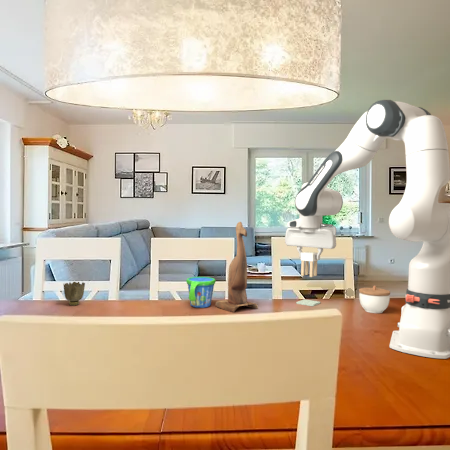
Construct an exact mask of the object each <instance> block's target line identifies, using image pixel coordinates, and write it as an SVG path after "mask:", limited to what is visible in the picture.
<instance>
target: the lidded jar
mask: <svg viewBox="0 0 450 450" xmlns="http://www.w3.org/2000/svg"><path fill="white" fill-rule="evenodd" d="M358 292H359V294H358V295H359V296H358V299H359V303H360V306H361V307H362V308H363V309H364V311H365V312H367V313H370V314H383V312H384V311H385V310H386V309H387V308H388V307H389V304H390V299H391V298H390V297H391V290H388V289H385V288H381V287H377V285H373V286H372V287H361V288H359V289H358Z"/></svg>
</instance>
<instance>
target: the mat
mask: <svg viewBox="0 0 450 450" xmlns="http://www.w3.org/2000/svg"><path fill="white" fill-rule="evenodd" d="M295 304H296V305H301V306H302V305H303V306H309V307H315V306H318V305H320V304H321V301H318V300H310V299H304V298H303V299H301V300H299V301H296V303H295Z"/></svg>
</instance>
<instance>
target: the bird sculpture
mask: <svg viewBox="0 0 450 450" xmlns="http://www.w3.org/2000/svg"><path fill="white" fill-rule="evenodd" d="M235 234H236V255H235V256H234V258H233V259H232V260H231V262H230V264H229V266H228V278H227V299H223V300H222V299H220V300H217V301H215V307H217V308H218V309H222V310H225V311H227V312H232V313H233V314H234V313H235V312H236V310H237V309H239V307H242V306H244V307H245V306H246V307H249V308H254V309H258V308H259V307H258V306H259V305H258V304H257V303H254V302H250V301H248V295H247V287H248V285H247V284H248V260H247V251H246V247H245V246H246V245H245V242H244V241H245V240H244V237H246V238H247V237H248V231H247V229H246V228H245V227H244V225H243V223H242V221H238V222H237V223H236V225H235ZM243 236H244V237H243Z"/></svg>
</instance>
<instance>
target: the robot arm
mask: <svg viewBox="0 0 450 450" xmlns="http://www.w3.org/2000/svg"><path fill="white" fill-rule="evenodd" d="M447 138H448V137H447V133H446V130H445V126H444V123H443V122H442V120H441V118H439V117H438V116H436V115H432V114H431V112H430V111H428V110H426V109H425V108H423V107H421V106H417V105H413V104H410V103H407V102H404V101H396V100H391V99H381V100H377V101H375V102H374V103H372V104H371V105H370V107H369V108H368V110H366V111H365V112H363V113H362V115H361V116H360V117H359V118H358V120H357V121H356V122H355V124H354V125H353V127H352V128H351V130H350V132H349V133H348V135H347V137H346V138H345V139H344V140H343V142H341V144H340V145H339V146H338V148H336V149H335V150H334V151H332V152H331V153H330V154H329V155H328V156H327V157H326V158H325V159H324V161H323V162H322V163H321V164H320V166H319V167H318V168H317V170H316V171H315V172H314V173H313V175H312V176H311V178H310V179H309V181H306V182H304V183H303V184H302V185H301V186H300V187H301V188H300V190H298V192H297V194H296V195H295V199H294V206H295V209H296V211H297V212H298V213H299V214H298V215H299V216H298V217H299V218H295V219H293V220H290V221H288V222H287V228H286V231H285V236H284V243H285V245H286V246H287V247H288V246H289V247H296V250H297V252H298V254H299V256H298V257H299V259H301V253H302V252H303V251H302V250H303V248H312V249H313V248H314V249H317V253H318V254H317V255H315V260H318V261H319V260H320V259H321V255H322V253H323V252H324V249H326V250H327V249H328V250H334V249H335V248H336V247H337V228H336V226H335V225H333V224H330V223H329V224H328V223H323V217H324V216H336V215H338V214H339V213H340V212H341V210H342V208H343V204H344V201H343V196H342V194H341V193H340V191H338V190H335V189H332V188H330V187H328V185H329V184H330V183H331V181H332V180H333V179H334V178H336V177H337V176H338V175H340V174H342V173H345V172H347V171H352V170H356V169H360V168H363V167H365V166H367V165H368V164H369V163H370V162H371V161H372V160H373V159H374V158H375V156H376V154H377V153H378V152H379V150H380V148H381V147H382V145H383V143H384V142H385V141H386V140H387V139H391V140H393V141H402V142H403V144H404V152H405V169H406V182H405V183H406V184H405V189H404V192H403V195H402V198H401V200H400V201H399V203H398V204H397V205H395V207H394V208H393V209H392V210H391V212H390V214H389V217H388V227H389V230H390V232H391V233H392V235H393V236H394V237H395V238H397V239H399V240H403V241H408V242H411V243H415V242H416V243H422V246H421V248H420V250H419V252H418V253H417V254H416V255H415V256H414V257H412V259H411V260H410V261H409V263H408V281H407V283H408V284H407V288H406V292H405V300H404V302H405V304H404V305H403V306H402V307H401V314H400V315H401V316H400V320H399V322H397V323H396V324H397V325H396V326H397V328H399V329H398V330H393V331H392V334H391V337H390V342H389V348H390V349H392V350H395V351H398V352H400V353H401V352H402V353H404V354H409V355H414V356H419V357H424V358H425V357H426V358H431V359H444V360H445V359H447V360H448V359H449V358H450V202H439V196H440V192H441V190H442V188H443V187H444V186H446V185H447V184H448V183H449V182H450V154H449V153H450V152H449V143H448V139H447Z"/></svg>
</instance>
